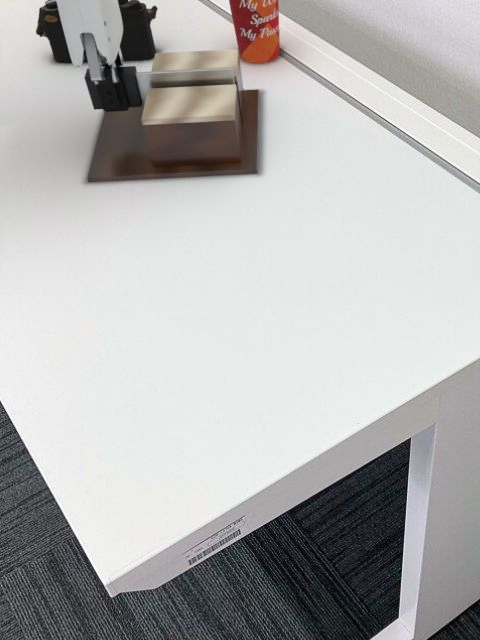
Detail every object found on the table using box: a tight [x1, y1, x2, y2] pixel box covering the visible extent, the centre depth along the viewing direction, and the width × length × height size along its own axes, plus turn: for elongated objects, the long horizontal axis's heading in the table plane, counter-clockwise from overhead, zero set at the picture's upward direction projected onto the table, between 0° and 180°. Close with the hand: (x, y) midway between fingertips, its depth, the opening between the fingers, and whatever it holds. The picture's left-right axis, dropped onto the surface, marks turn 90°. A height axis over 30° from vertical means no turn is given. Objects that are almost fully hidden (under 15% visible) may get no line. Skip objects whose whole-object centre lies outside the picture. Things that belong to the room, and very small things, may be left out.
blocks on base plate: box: [86, 48, 260, 183], centre depth 99 cm, size 21×19×8 cm
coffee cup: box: [228, 0, 281, 64], centre depth 110 cm, size 8×8×15 cm
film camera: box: [35, 0, 159, 64], centre depth 114 cm, size 18×12×10 cm
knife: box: [83, 65, 235, 110], centre depth 96 cm, size 18×2×4 cm, turn 94°
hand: (117, 102), depth 97 cm, fingers closed on knife, 2 cm apart
